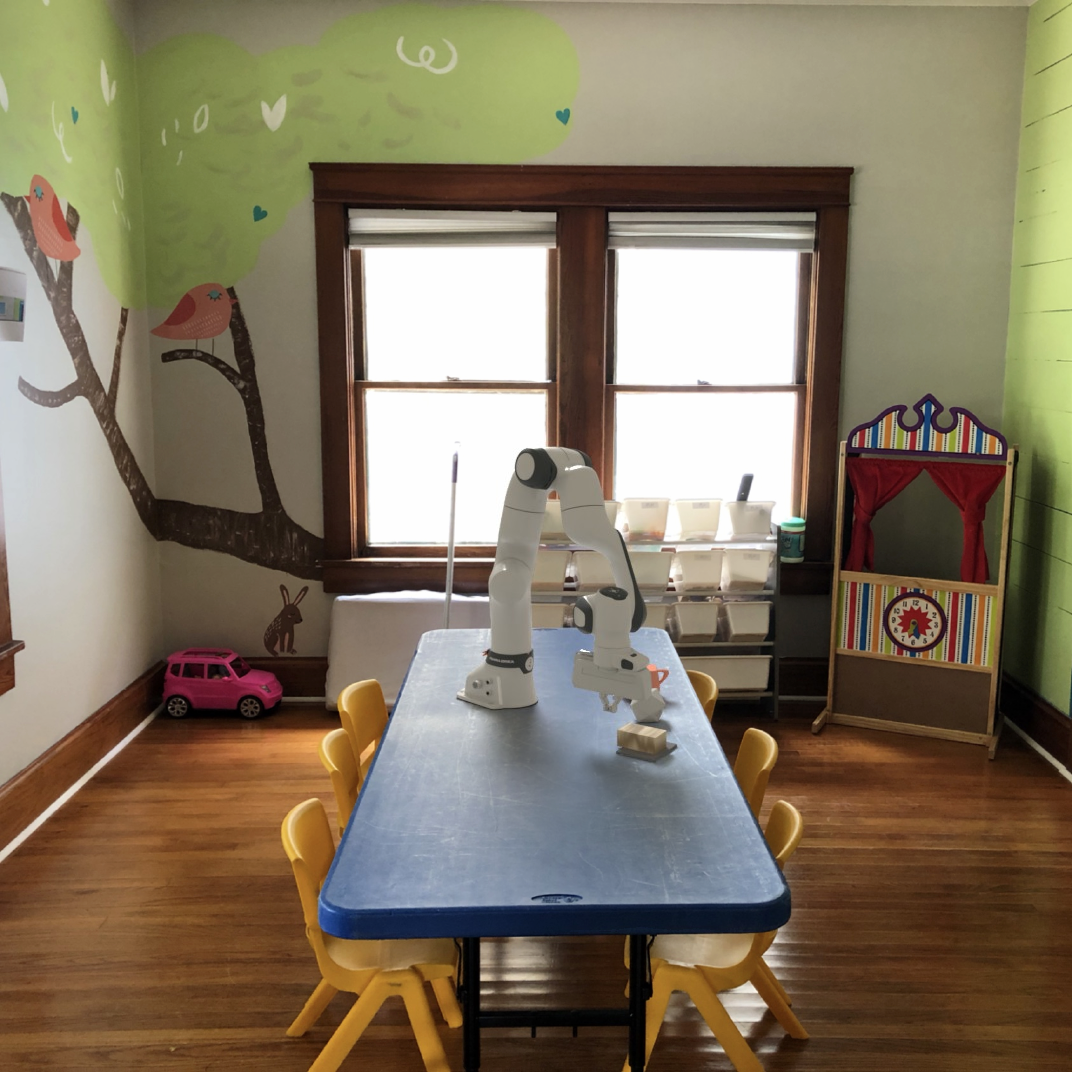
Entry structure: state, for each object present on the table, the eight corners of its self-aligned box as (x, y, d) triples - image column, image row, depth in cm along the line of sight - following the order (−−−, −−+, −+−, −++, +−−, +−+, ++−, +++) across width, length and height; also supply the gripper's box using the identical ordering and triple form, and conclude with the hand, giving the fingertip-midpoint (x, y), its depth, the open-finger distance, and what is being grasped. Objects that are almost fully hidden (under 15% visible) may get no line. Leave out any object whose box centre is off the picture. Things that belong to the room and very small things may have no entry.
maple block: (617, 729, 248) (655, 737, 243) (629, 722, 253) (666, 730, 248) (617, 745, 249) (655, 754, 244) (628, 738, 254) (666, 746, 249)
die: (655, 731, 263) (674, 696, 265) (624, 712, 264) (644, 677, 265) (650, 731, 271) (670, 698, 273) (621, 713, 272) (640, 680, 274)
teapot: (639, 687, 296) (640, 654, 295) (671, 697, 287) (671, 663, 286) (610, 695, 289) (610, 661, 287) (641, 706, 280) (642, 670, 278)
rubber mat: (616, 753, 246) (616, 751, 246) (639, 738, 256) (639, 735, 256) (654, 762, 240) (654, 759, 240) (677, 746, 250) (677, 744, 250)
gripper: (567, 651, 253) (566, 706, 255) (643, 666, 242) (641, 723, 244) (581, 645, 258) (579, 699, 260) (655, 659, 247) (653, 716, 249)
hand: (610, 711), depth 252 cm, fingers closed
